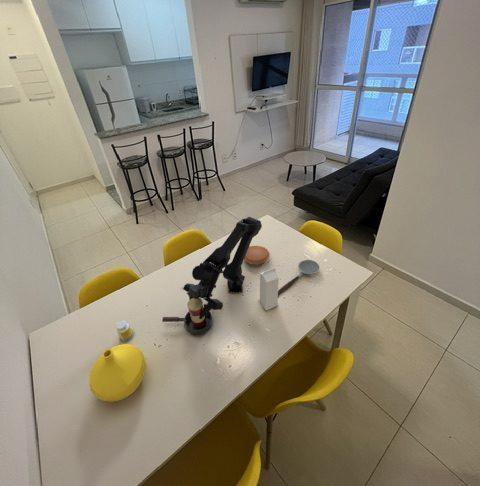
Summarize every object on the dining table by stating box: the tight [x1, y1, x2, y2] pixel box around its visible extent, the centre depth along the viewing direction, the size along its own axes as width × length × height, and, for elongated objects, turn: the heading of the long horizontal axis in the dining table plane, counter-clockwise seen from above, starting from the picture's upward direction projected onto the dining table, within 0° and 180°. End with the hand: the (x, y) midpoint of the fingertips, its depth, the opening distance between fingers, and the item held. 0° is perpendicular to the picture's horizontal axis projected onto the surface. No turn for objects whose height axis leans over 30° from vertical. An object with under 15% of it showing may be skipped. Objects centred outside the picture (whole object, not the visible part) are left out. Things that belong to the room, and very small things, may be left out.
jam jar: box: [186, 298, 206, 328], centre depth 110 cm, size 6×6×13 cm
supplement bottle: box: [115, 319, 133, 342], centre depth 108 cm, size 5×5×8 cm
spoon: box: [278, 259, 320, 296], centre depth 132 cm, size 11×33×3 cm, turn 129°
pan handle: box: [162, 316, 185, 323], centre depth 112 cm, size 10×2×2 cm, turn 89°
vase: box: [89, 343, 147, 402], centre depth 90 cm, size 18×18×19 cm
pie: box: [243, 245, 270, 267], centre depth 146 cm, size 16×16×5 cm
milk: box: [259, 267, 280, 311], centre depth 115 cm, size 6×6×22 cm
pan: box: [183, 306, 214, 337], centre depth 113 cm, size 12×12×4 cm
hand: (194, 314), depth 109 cm, fingers closed on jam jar, 6 cm apart
